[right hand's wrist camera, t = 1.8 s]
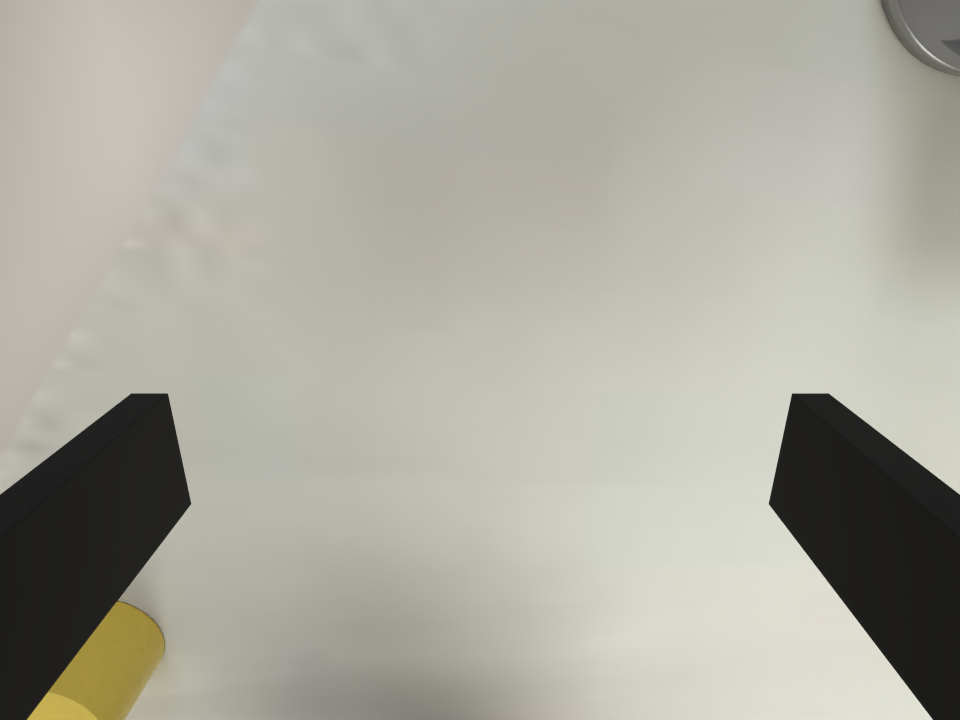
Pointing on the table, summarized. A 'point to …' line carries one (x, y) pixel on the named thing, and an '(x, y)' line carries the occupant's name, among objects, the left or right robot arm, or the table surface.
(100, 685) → the tin
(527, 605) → the table surface
